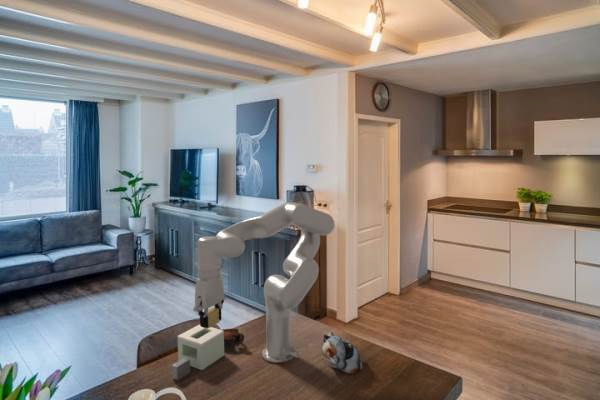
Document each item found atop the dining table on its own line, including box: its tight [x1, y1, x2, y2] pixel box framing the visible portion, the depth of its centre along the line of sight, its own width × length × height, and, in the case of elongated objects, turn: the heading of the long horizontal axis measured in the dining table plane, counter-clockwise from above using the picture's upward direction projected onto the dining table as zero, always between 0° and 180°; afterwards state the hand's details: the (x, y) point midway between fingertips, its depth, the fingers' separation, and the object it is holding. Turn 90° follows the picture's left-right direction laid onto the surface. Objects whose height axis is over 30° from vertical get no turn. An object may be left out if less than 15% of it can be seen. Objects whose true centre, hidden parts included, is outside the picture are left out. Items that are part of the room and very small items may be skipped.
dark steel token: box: [171, 358, 191, 381], centre depth 135 cm, size 2×6×5 cm, turn 150°
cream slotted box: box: [177, 323, 225, 371], centre depth 146 cm, size 12×12×10 cm
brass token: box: [203, 306, 221, 329], centre depth 132 cm, size 2×6×5 cm, turn 151°
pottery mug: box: [221, 328, 245, 351], centre depth 156 cm, size 12×9×8 cm
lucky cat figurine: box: [321, 331, 363, 375], centre depth 140 cm, size 15×12×14 cm
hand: (211, 322), depth 132 cm, fingers closed on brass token, 5 cm apart
